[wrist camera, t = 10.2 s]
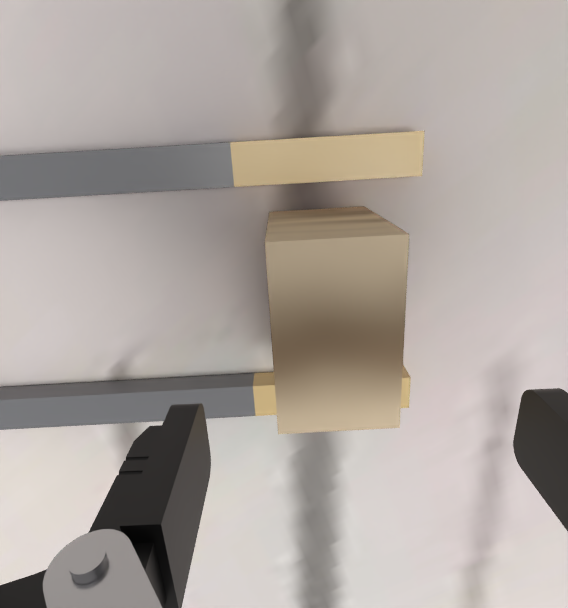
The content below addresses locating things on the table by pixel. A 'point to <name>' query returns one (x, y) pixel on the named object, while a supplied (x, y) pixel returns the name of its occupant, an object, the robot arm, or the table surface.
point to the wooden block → (336, 318)
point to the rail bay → (185, 176)
